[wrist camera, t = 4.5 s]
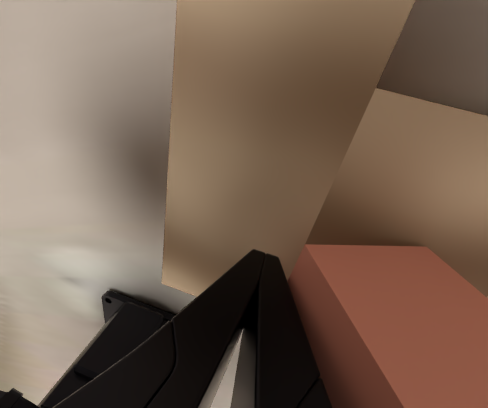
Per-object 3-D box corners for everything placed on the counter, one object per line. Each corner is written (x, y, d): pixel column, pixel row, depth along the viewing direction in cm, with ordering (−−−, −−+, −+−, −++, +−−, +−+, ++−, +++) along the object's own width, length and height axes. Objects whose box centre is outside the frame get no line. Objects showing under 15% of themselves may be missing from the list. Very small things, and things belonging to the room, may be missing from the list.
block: (361, 325, 9) (508, 558, 5) (261, 336, 8) (349, 654, 4) (426, 246, 7) (764, 532, 3) (304, 244, 6) (597, 724, 2)
